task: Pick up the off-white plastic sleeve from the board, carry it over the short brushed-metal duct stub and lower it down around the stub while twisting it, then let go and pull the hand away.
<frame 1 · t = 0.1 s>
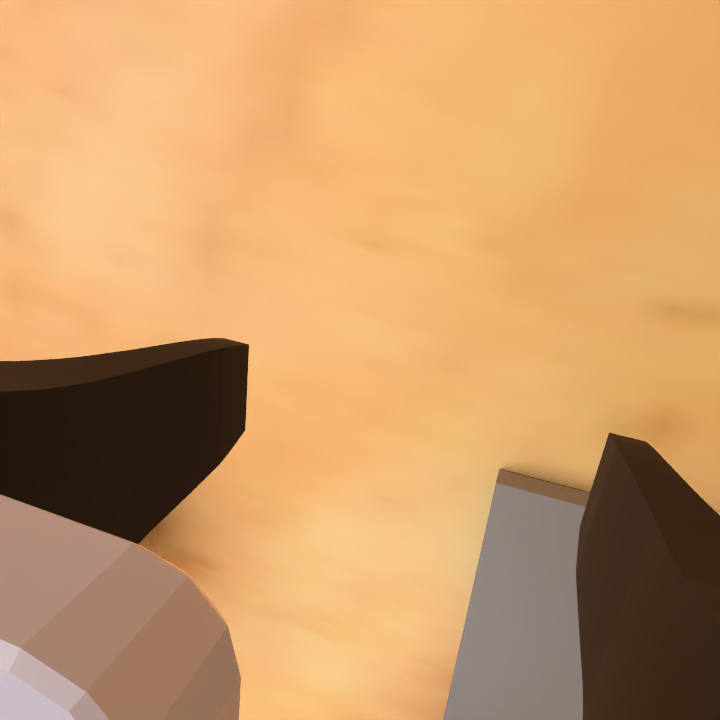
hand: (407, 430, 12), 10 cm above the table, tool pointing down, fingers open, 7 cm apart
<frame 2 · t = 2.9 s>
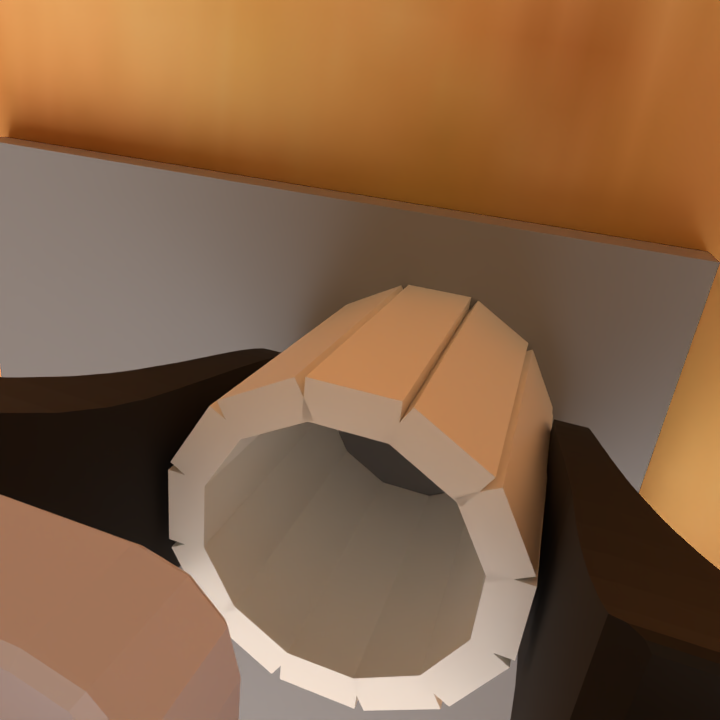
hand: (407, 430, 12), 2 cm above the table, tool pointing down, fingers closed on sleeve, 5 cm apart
duct board: (274, 554, 17), on the table
sleeve: (419, 409, 13), point 1 cm above the table, touching duct board, gripper
when the fingers open (4 cm above the table, at t = 7.8 s): sleeve drops 1 cm, resting on duct board.
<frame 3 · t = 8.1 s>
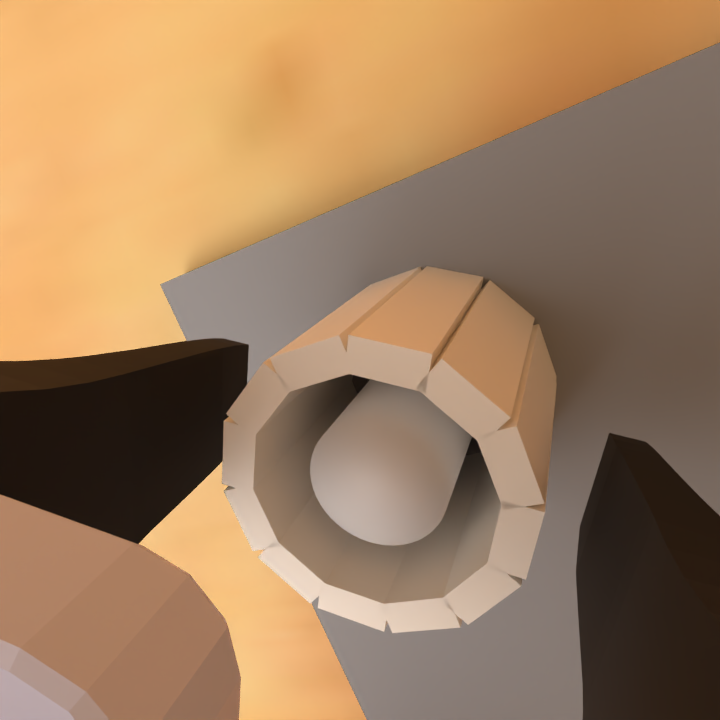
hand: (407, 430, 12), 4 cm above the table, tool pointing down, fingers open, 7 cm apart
duct board: (656, 460, 14), on the table
sleeve: (435, 380, 14), point 1 cm above the table, touching duct board
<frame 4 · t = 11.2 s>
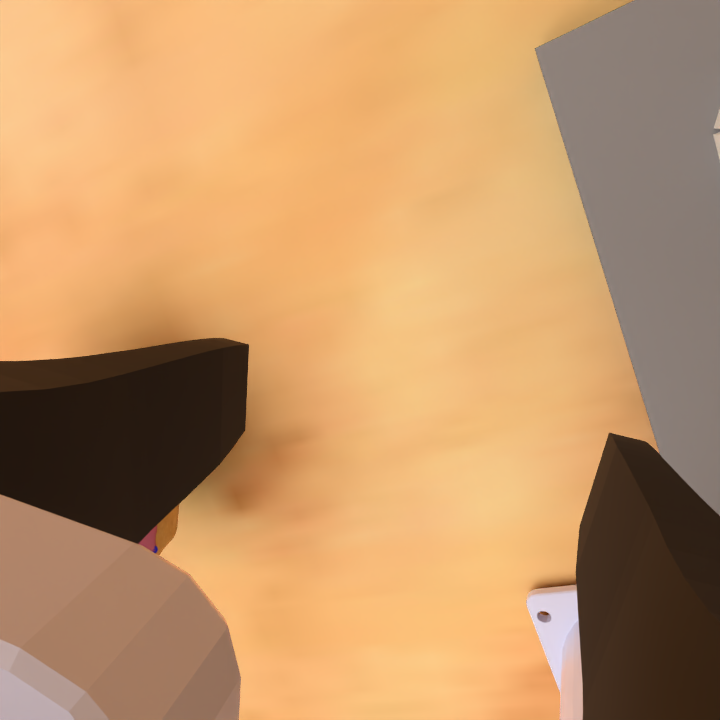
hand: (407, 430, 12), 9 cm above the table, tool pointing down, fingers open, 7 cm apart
cupcake: (149, 432, 27), on the table
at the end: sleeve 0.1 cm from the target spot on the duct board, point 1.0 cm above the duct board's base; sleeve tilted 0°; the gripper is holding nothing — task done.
